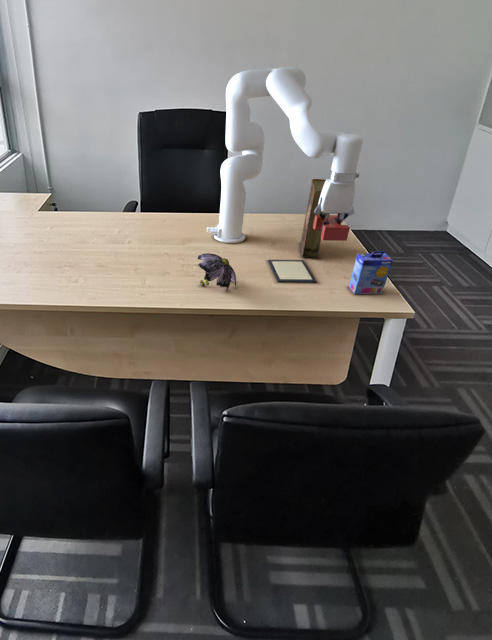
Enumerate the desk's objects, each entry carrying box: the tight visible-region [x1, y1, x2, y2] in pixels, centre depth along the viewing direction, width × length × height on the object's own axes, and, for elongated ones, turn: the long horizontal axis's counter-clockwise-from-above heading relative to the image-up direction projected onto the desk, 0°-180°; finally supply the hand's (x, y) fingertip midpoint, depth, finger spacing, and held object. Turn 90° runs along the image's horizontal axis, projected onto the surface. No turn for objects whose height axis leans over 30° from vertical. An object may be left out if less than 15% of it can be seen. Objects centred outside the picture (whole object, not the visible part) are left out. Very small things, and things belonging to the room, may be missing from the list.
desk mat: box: [267, 259, 317, 284], centre depth 173 cm, size 13×18×1 cm
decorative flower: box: [197, 252, 237, 292], centre depth 160 cm, size 14×12×15 cm
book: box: [300, 178, 327, 259], centre depth 182 cm, size 16×6×25 cm, turn 168°
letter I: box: [313, 214, 350, 242], centre depth 164 cm, size 8×12×4 cm, turn 0°
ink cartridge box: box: [348, 250, 394, 295], centre depth 157 cm, size 10×6×14 cm, turn 95°
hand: (329, 231), depth 165 cm, fingers closed on letter I, 3 cm apart
